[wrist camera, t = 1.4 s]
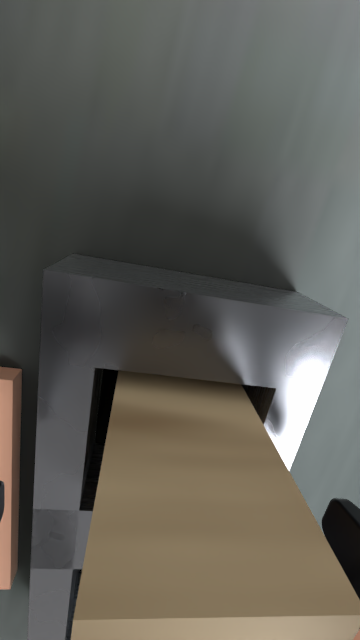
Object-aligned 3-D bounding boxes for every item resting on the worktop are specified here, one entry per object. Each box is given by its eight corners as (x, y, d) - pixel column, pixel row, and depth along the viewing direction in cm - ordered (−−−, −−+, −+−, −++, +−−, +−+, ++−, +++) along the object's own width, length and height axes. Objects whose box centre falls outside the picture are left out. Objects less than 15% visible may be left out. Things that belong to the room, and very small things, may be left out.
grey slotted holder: (197, 601, 17) (207, 680, 14) (47, 602, 15) (25, 689, 13) (297, 291, 11) (348, 318, 8) (73, 253, 10) (42, 269, 7)
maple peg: (204, 439, 13) (283, 752, 5) (111, 431, 12) (54, 773, 5) (226, 357, 12) (368, 615, 4) (123, 344, 11) (73, 620, 4)
